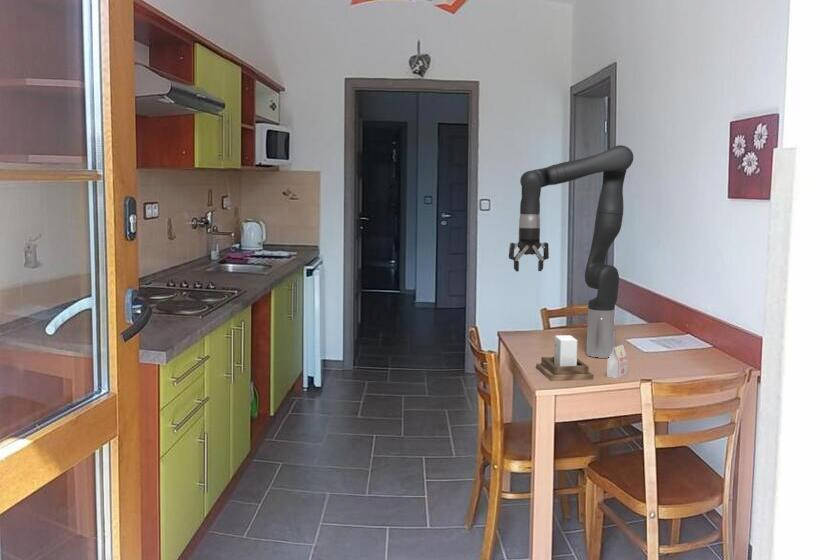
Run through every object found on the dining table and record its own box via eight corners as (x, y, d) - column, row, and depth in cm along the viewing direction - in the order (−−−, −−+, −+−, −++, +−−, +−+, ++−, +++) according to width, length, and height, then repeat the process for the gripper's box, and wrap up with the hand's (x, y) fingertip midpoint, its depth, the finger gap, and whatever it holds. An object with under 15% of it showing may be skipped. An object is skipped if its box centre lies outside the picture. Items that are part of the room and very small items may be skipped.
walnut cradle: (576, 366, 247) (576, 355, 247) (593, 379, 231) (593, 367, 231) (536, 367, 246) (536, 356, 245) (550, 380, 230) (551, 368, 229)
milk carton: (606, 377, 234) (608, 347, 233) (616, 373, 239) (617, 343, 238) (617, 379, 232) (618, 348, 230) (626, 375, 237) (628, 345, 235)
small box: (576, 372, 235) (577, 340, 233) (559, 372, 234) (560, 340, 233) (570, 365, 242) (571, 334, 241) (553, 366, 242) (554, 335, 241)
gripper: (545, 225, 267) (544, 269, 269) (507, 226, 265) (506, 270, 267) (551, 227, 259) (550, 272, 262) (512, 227, 258) (511, 272, 260)
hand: (528, 271), depth 264 cm, fingers open, 8 cm apart
